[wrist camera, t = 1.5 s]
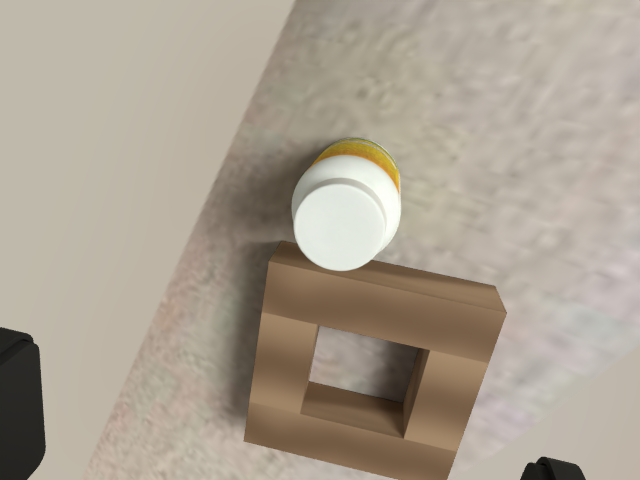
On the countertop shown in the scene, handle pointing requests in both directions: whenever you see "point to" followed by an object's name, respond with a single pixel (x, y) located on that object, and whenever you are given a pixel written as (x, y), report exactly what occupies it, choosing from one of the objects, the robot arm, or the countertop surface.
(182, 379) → the countertop surface
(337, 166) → the supplement bottle
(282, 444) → the socket block
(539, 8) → the countertop surface
